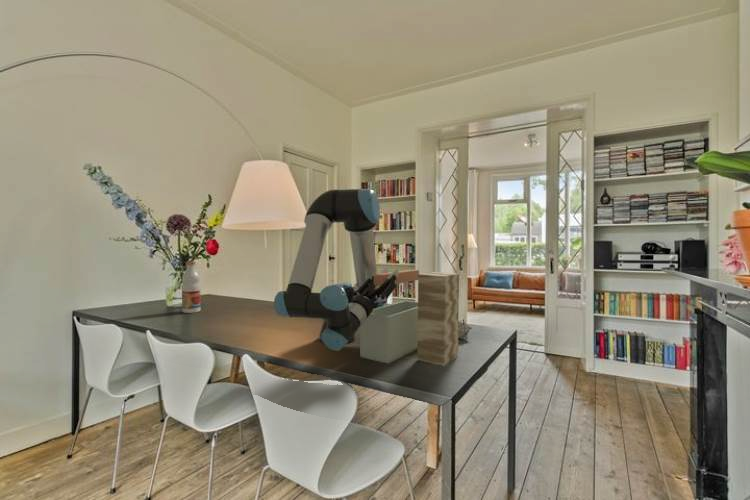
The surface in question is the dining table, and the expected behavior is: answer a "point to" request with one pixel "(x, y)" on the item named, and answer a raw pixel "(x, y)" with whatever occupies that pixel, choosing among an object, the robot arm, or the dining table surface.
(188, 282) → the fruit juice
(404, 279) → the beam
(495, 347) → the dining table surface
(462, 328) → the grey bushy clump
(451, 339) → the stand
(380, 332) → the bin
